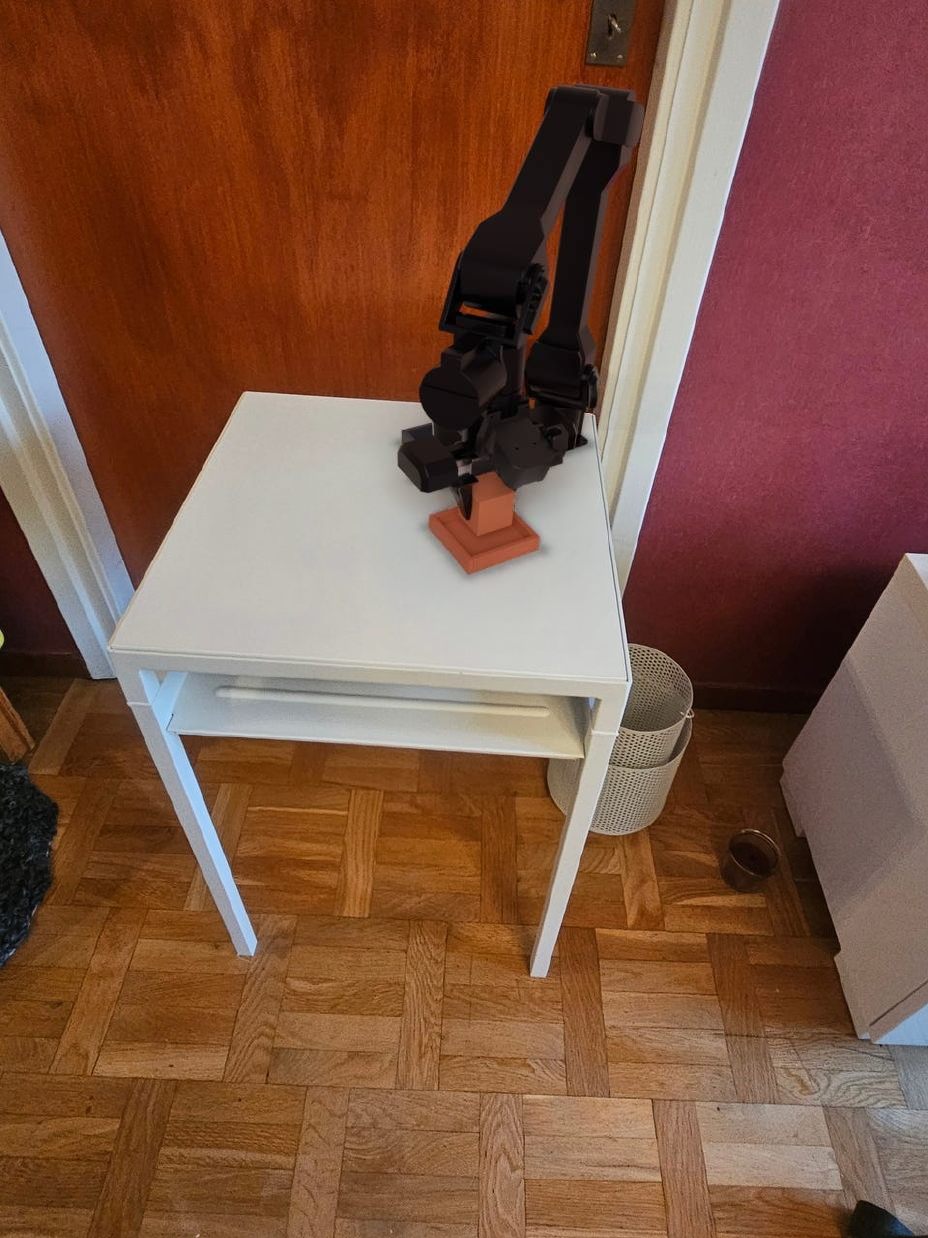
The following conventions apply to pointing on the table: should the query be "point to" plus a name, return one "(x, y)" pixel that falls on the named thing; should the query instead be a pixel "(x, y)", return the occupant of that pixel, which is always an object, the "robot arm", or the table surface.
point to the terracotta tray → (482, 540)
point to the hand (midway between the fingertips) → (484, 512)
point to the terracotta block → (490, 505)
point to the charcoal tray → (427, 430)
